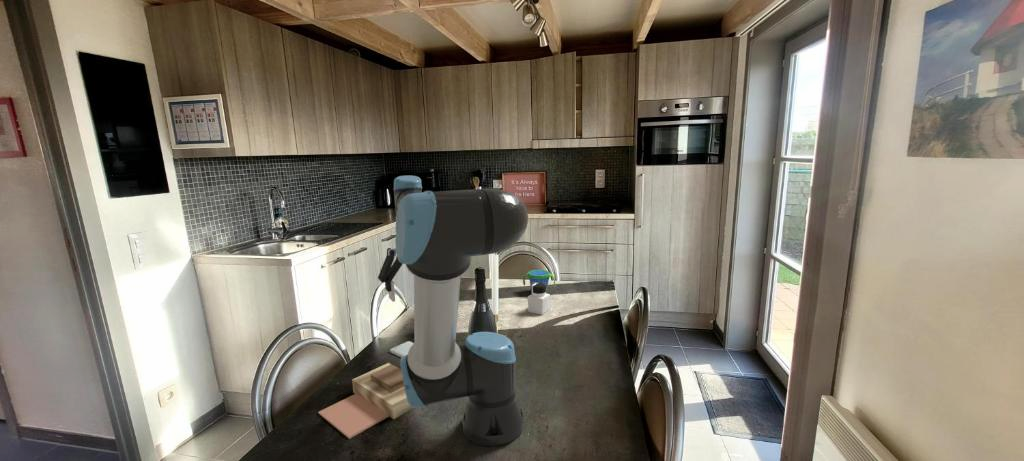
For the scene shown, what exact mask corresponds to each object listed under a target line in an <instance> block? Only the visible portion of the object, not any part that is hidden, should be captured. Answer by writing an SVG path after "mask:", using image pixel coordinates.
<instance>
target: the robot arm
mask: <svg viewBox="0 0 1024 461" xmlns="http://www.w3.org/2000/svg"><path fill="white" fill-rule="evenodd" d="M422 190H423V186H422V179H421V178H420V177H419V176H417V175H399V176H397V177H395V178H394V179H393V195H394V197H393V198H394V207H395V209H394V210H395V240H394V241H395V248H390V247H388V248H387V249H386V257H385V259H384V260H383V263H382V266H381V269H380V271H379V274H378V276H377V279H378V280H379V281H380V282H381V283H382V284H383V283H384V288H385V291H387V292H388V299H389V300H390V301H391V302H392V303H394V302H396V291H395V289H396V288H395V281H393V280H394V278H395V276H397V273H398V272H399V270H400V269H401V267H403V265H405V267H406V269H407V271H408V272H409V273H410V274H411V275H413V290H414V291H413V300H414V301H413V304H414V305H413V307H414V310H413V311H414V312H413V313H414V314H413V315H414V316H413V317H414V320H413V322H414V328H413V329H414V330H413V331H414V332H413V334H414V336H413V337H414V341H413V343H414V344H413V345H412V346H411V348H410V349H409V352H408V354H407V355H405V356H403V357H400V362H399V363H400V369H401V372H402V377H403V383H404V387H405V392H406V397H407V401H408V403H409V405H410V406H411V407H413V408H412V409H417V408H418V409H419V408H422V407H425V408H427V407H428V408H429V406H433V405H438V404H441V403H446V402H450V401H453V400H459V399H463V398H466V397H467V398H468V400H467V403H466V405H465V410H464V413H463V416H462V432H463V434H464V436H465V438H467V439H468V440H469V441H470V442H471V443H474V444H476V445H478V446H479V445H480V446H483V447H497V446H503V445H506V444H509V443H512V442H513V441H514V440H516V439H517V438H518V437H520V435H521V434H522V432H523V431H524V427H525V419H524V418H525V417H524V412H523V410H522V408H521V405H520V402H519V400H518V397H517V388H516V387H517V386H516V385H517V382H516V360H517V358H516V353H515V345H514V342H513V341H512V340H511V339H510V338H509V337H508V336H506V335H504V334H501V333H497V332H493V331H492V332H491V331H477V332H473V333H471V334H469V335H467V337H466V338H465V340H464V344H460V345H459V344H457V342H456V341H457V340H456V339H457V328H458V327H457V324H458V314H459V302H460V289H461V287H460V286H461V279H462V278H461V277H462V276H464V274H465V273H466V272H467V271H468V270H469V268H470V265H471V257H478V256H479V257H480V256H485V255H493V254H498V253H501V252H503V251H506V250H508V249H509V248H511V247H512V246H513V245H516V243H518V241H519V240H520V239H521V238H522V237H523V235H524V234H525V232H526V230H527V228H528V223H529V212H528V210H527V206H526V204H525V203H524V201H523V200H522V199H521V198H520V197H519V196H518V195H516V194H515V193H512V192H510V191H507V190H504V189H499V188H477V189H461V190H459V189H458V190H446V191H444V190H443V191H432V190H425V191H423V192H422Z"/></svg>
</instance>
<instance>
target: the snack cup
mask: <svg viewBox="0 0 1024 461" xmlns="http://www.w3.org/2000/svg"><path fill="white" fill-rule="evenodd" d="M526 276H528V278H529V286H530V292H531V293H532V285H533V284H535V283H543V284H545V285H546V293H547V292H548V287H549V280H550V277H551V279H552V280H553V288H555V285H556V278H555V276H554V275H553V274H552V273H550V271H549V270H544V269H531V270H530V271H528V272H526V273H525V274H524V276H523V277H522V278H523V279H522V283H523V284H522V285H523V286H526V279H525V278H526ZM547 294H548V293H547Z"/></svg>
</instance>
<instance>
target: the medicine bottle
mask: <svg viewBox="0 0 1024 461" xmlns="http://www.w3.org/2000/svg"><path fill="white" fill-rule="evenodd" d="M527 305H528V306H527V312H528V313H532V314H537V315H540V316H543V315H544V314H546V313H547V312H549V311H550V310H551V294H550V293H546V285H545V284H543V283H535V284H533V285H532V292H531V294H530V295H528V296H527Z"/></svg>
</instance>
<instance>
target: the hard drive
mask: <svg viewBox="0 0 1024 461" xmlns="http://www.w3.org/2000/svg"><path fill="white" fill-rule="evenodd" d="M414 343H415V342H412V341H409V340H408V341H405V342H403V343H401V344H399V345H397V346H394V347H392V348H390V349H389V353H391V354H393V355H395V356H397V357H399V358H401V357H403V356H405V355H407V354H408V352H409V349H410V348H411V346H412V345H413V344H414Z"/></svg>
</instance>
